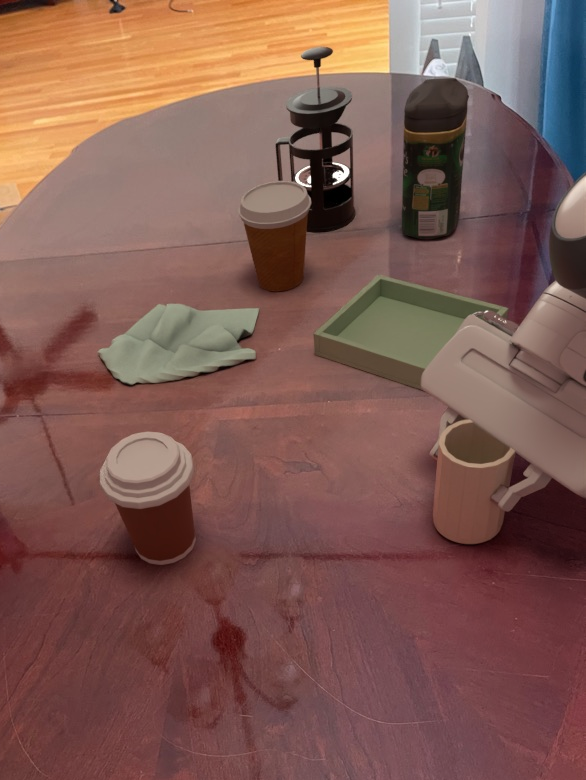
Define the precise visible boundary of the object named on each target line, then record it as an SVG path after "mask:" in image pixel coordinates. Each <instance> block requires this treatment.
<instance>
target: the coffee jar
mask: <svg viewBox="0 0 586 780" xmlns="http://www.w3.org/2000/svg"><path fill="white" fill-rule="evenodd" d="M468 93H469V92H468V88H467V86H465V84H463V83H462V82H461V81H459V80H458V79H457V78H456V77H447V78H445V77H444V78H430V79H425V80H424V81H423V82H422V83H421V84H419V85H417V86H416V87H415V88H414V89H412V91H410V93H409V95H408V97H407V99H406V101H405V105H404V114H403V115H404V118H403V145H402V149H403V150H402V151H403V152H402V154H403V155H402V190H401V191H402V195H401V196H402V197H401V231H402V233H403V234H404V235H406V236H409V237H412V238H414V239H418V240H435V239H437V238H442V237H444V236H445V237H446V236H449V235H451V234H452V233H453V232H454V230H456V227H457V225H458V222H459V219H460V212H461V201H462V184H463V170H464V159H465V147H466V133H467V122H468V121H467V120H468V102H469V98H470V95H469V94H468Z"/></svg>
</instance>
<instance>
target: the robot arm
mask: <svg viewBox="0 0 586 780" xmlns="http://www.w3.org/2000/svg"><path fill="white" fill-rule="evenodd" d="M548 250H549V251H548V254H549V262H550V268H551V271H552V276H553V278H554V281H553V282H552V283H551V284H549V285H548V286H547V287H546V288H545V289H544V291H543V292H542V293H541V295H540V296H539V297H538V299H537V300H536V302H535V303H534V305H533V306H532V307H531V308H530V310H529V312H528V313H527V314H526V316H525V317H524V318H523V320H522V321H521V323H520V324H519V323H516V322H514V321H513V320H510V319H508V318H507V319H505V318H503V317H501V316H500V315H499V314H498V313H496V312H494V311H491V310H486V311H485V312H476V313H474V314H472V315H469V316H468V317H467V318H466V319H465V320H464V321H463V323H462V324H461V326H460V327H459V329H458V330H457V332H456V333H455V335H454V336H453V337H452V338H451V339H450V340H449V341H448V342H447V343H446V344H445V345H444V347H443V348H442V349H441V350H440V351H439V352H438V354H437V355H436V356H435V357H434V359H433V360H432V361H431V362H430V364H429V365H428V366H427V368H426V369H425V370H424V372H423V373H422V376H421V388H422V389H423V390H424V391H423V390H422V391H423V392H425V393H427V394H428V395H430V396H431V397H432V398H434V399H436V400H437V401H438V402H440V403H442V404H443V405H445V406H446V407H447V408H446V409H445V411H444V412H443V414H442V415H441V417H440V421H439V430H438V437H437V438H438V439H437V441H436V442H435V443H434V446H433V447H432V448H431V450H430V451H429V453H428V454H429V456H430V457H431V458H432V459H433V460H436V461H437V459H438V447H439V440H440V435H441V434H442V433H443V431H444V430H445V429H446V428H447V427H448V426H450V425H452V424H454V423H456V422H458V421H462V420H468V419H470V420H471V421H472V422H473V424H474V425H475V426H477V427H478V428H480V429H481V430H483V431H484V432H486V433H487V434H489V435H490V436H492V437H493V438H494V439H496V440H497V441H499V442H500V443H502V444H503V445H505V446H506V447H508V448H509V449H510V447H511V448H512V449H514V450H515V455H516V454H517V455H518V456H520V457H521V458H522V459H524V460H525V461H527V462H528V463H529V465H527V468H526V469H525V470H524V471H523V476H524V477H526V478H524V479H523V480H521V481H519V482H517V483H515V484H513V485H510V486H509V487H507V486H505V485H502V484H500V486H499V487H498V488H497V489H496V493H494V494H493V495H492V496H491V498H490V501H491V502H493V503H494V504H495V505H497V506H498V507H499V508H501V509H502V510H504V511H505V512H506V513H507V512H510V511H511V510H513V509H514V507H515V506H516V504H517V503H518V502H519V500H521V498H522V497H523V498H524V497H526V496H529V495H531V494H533V493H535V492H537V491H539V490H542V489H545V488H546V487H547V485H548V484H549V483H550V482H551V480H552V479H553V480H555V481H556V482H558V483H559V484H560V485H562V486H563V487H564V488H566V489H568V490H569V491H571V492H572V493H574V494H576V495H577V496H579V497H581V498H583V499H586V171H584V173H583V174H582V175H580V177H578V178H577V179H576V180H575V181H574V183H572V185H571V186H570V187H569V188H568V189H567V190H566V192H565V193H564V194H563V196H562V197H561V199H560V201H559V202H558V204H557V206H556V208H555V210H554V212H553V215H552V219H551V223H550V230H549V239H548ZM478 316H482V318H483V320H484V321H483V320H482V319H480V318H478ZM494 326H496V327H498V328H499V329H501V330H502V331H501V330H499V329H498V328H496V327H494Z"/></svg>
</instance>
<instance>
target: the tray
mask: <svg viewBox="0 0 586 780" xmlns="http://www.w3.org/2000/svg"><path fill="white" fill-rule="evenodd" d="M509 309H510V308H509V307H506V306H503V305H499V304H495V303H491V302H487V301H483V300H480V299H476V298H471V297H467V296H464V295H459V294H456V293H452V292H447V291H444V290H440V289H438V288H437V289H436V288H433V287H429V286H426V285H421V284H417V283H413V282H409V281H407V280H406V281H405V280H401V279H397V278H394V277H393V278H392V277H390V276H386V275H382V274H377V275H376V276H375V277H374V278H373V279H372V280H371V281H370V282H368V284H365V286H364V287H363V288H361V290H360V291H358V293H356V294H355V295H354V296H353V297H352V298H351V299H350V300H349V301H348V302H347V303H345V304H344V305H343V306H342V307H341V308H340V309H339V310H338V311H337V312H336V313H334V314H333V315H332V316H331V317H330V318H329V319H328V320H326V321H325V322H324V323H323V324H322V325H321V326H320V327H318V328H317V329H316V331H314V332H313V344H314V345H313V348H314V350H313V351H314V356H315V355H316V356H319V357H321V358H324V359H327V360H330V361H333V362H336V363H339V364H341V365H342V364H343V365H346V366H348V367H350V368H354V369H358V370H361V371H364V372H366V373H369V374H373V375H376V376H378V377H381V378H384V379H387V380H390V381H393V382H395V383H399V384H402V385H406V386H408V387H410V388H411V387H412V388H414V389H418V390H421V391H423V392H425V391H424V390H423V389H422V388H421V376H422V373H423V372H424V370H425V369H426V368H427V366H428V365H429V364H430V362H431V361H432V360H433V359H434V357H435V356H436V355H437V354H438V352H439V351H440V350H441V349H442V348H443V347H444V345H445V344H446V343H447V342H448V341H449V340H450V339H451V338H452V337H453V336H454V335H455V333H456V332H457V330H458V329H459V327H460V326H461V324H462V323H463V321H464V320H465V319H466V318H467V317H468V316H469V315H472V314H474V313H476V312H485V311H486V310H491V311H494V312H496V313H498V314H499V315H500V316H501V317H503V318H505V319H507V320H508V316H509ZM478 318H480V319H482V320H483V318H482V316H478ZM483 321H484V320H483ZM494 327H496V326H494ZM496 328H498V327H496ZM498 329H499V328H498ZM499 330H501V329H499ZM501 331H502V330H501Z"/></svg>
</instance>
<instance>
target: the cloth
mask: <svg viewBox="0 0 586 780" xmlns="http://www.w3.org/2000/svg"><path fill="white" fill-rule="evenodd" d="M259 312H260V307H251V308H250V307H247V308H230V309H228V308H226V309H208V310H206V309H205V310H199V309H196V308H193V307H192V306H189V305H186V304H183V303H167V304H166V305H165V304H161V303H158V304H157V305H156V306H154V307H153V308H152V309H151V310H149V311H148V312H147V313H146V314H144V315H143V317H141V318H140V319H138V320H137V322H135V323H134V324H133V325H132V326H131V327H130V328H129V329H128V330H127V331H125V332H124V333H122V334H120V335H118V336H115V337H114V338H113V339H112V340H111V341H110V345H109V347H102V348H100V349H99V350H98V351H97V352H96V353H97V355H98V356H99V359H100V360H101V361H102V362H103V364H104V365H105V367H106V368H107V369H108V370H109V371H110V373H111V375H112V378H114V379H115V380H116V379H117V380H119V381H120V382H122V383H123V384H125V385H129V386H133V385H134V384H136V383H140V384H161V383H166V382H170V381H180V380H183V379H185V378H187V377H188V378H189V377H190V378H193V377H197V376H200V375H202V374H205V373H214V372H216V371H219V370H221V369H223V368H226V367H230V366H231V367H233V366H237V365H239V364H241V363H243V362H245V361H247V360H256V358H257V357H256V356H257V352H256V350H255V349H252V348H249V347H245V348H242V347H241V345H240V344H239V343H238V341H239V340H240V339H243V338H246V337H248V336H251V335H252V334H254V330H255V327H256V324H257V320H258V317H259Z"/></svg>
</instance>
